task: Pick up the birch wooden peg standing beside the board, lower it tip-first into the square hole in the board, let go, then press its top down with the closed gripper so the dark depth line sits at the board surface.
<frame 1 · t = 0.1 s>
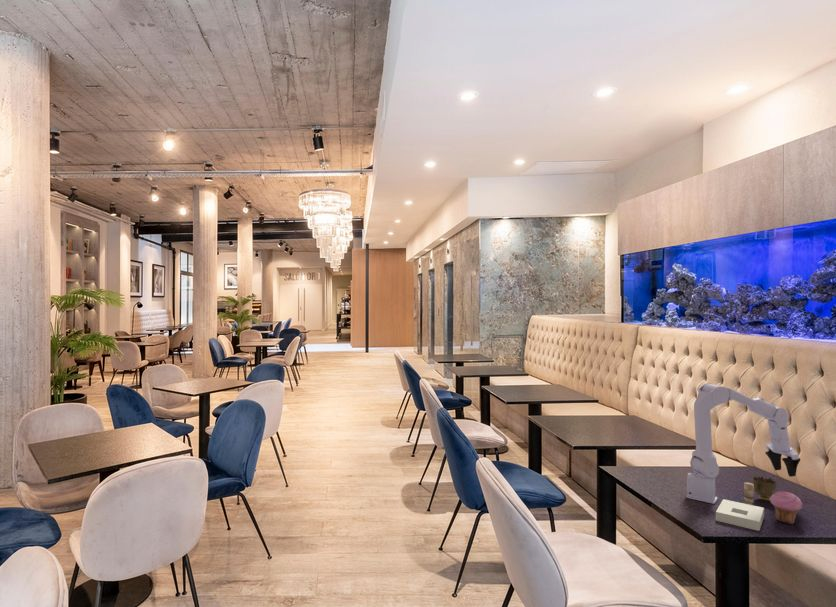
hand: (784, 472, 195), 11 cm above the table, tool pointing down, fingers open, 7 cm apart
board: (740, 518, 176), on the table
cupcake: (786, 521, 174), on the table
peg: (748, 505, 189), on the table
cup: (764, 500, 195), on the table
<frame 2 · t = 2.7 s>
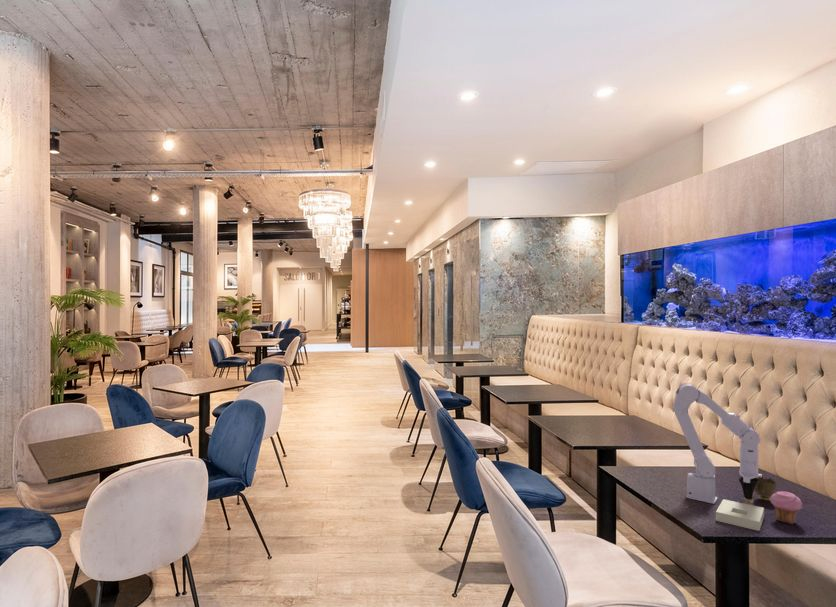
hand: (748, 497, 189), 3 cm above the table, tool pointing down, fingers closed on peg, 3 cm apart
peg: (748, 505, 189), on the table, touching gripper
everything else where it was.
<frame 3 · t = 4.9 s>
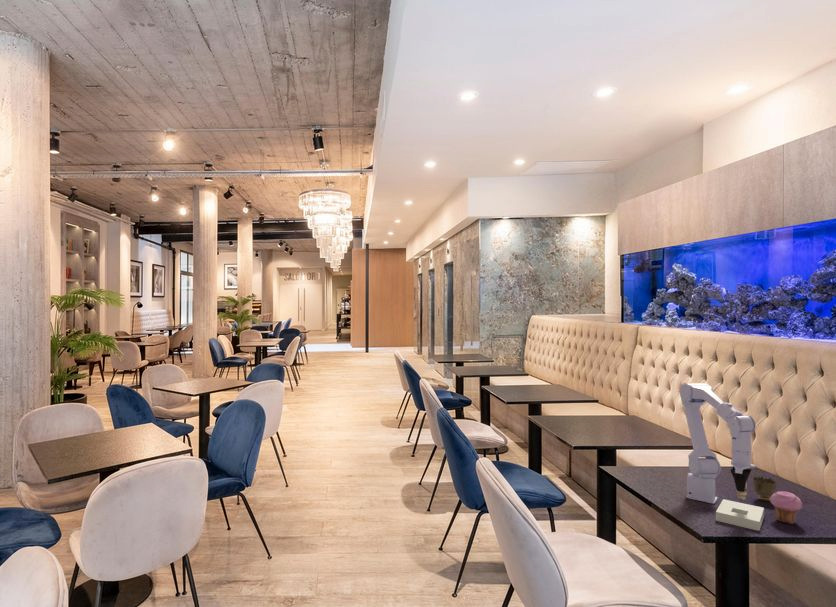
hand: (741, 489, 176), 10 cm above the table, tool pointing down, fingers closed on peg, 3 cm apart
peg: (741, 498, 176), point 7 cm above the table, touching gripper
everything else where it was.
when the fingers open (4 cm above the table, at t = 7.3 s): peg drops 1 cm, resting in board.
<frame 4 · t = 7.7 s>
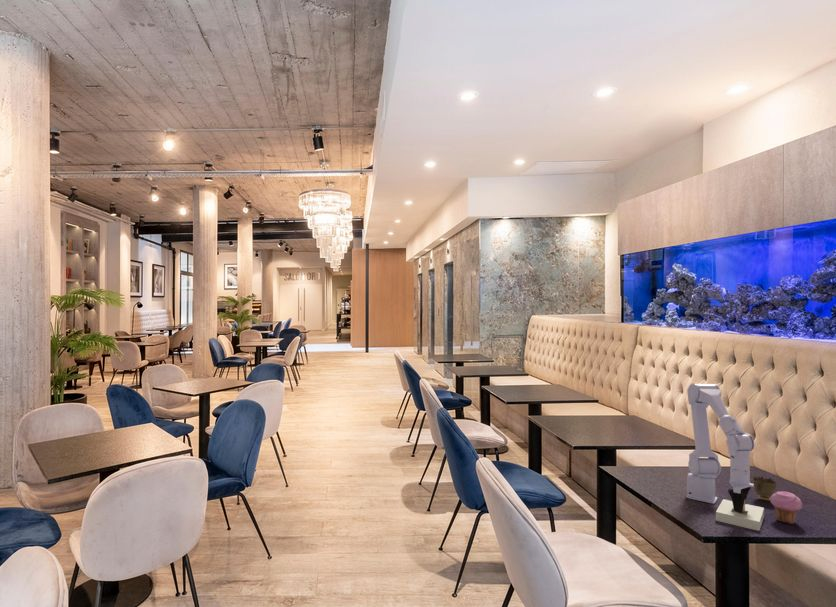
hand: (739, 508, 174), 4 cm above the table, tool pointing down, fingers open, 7 cm apart
peg: (740, 520, 174), resting in board
everything else where it was.
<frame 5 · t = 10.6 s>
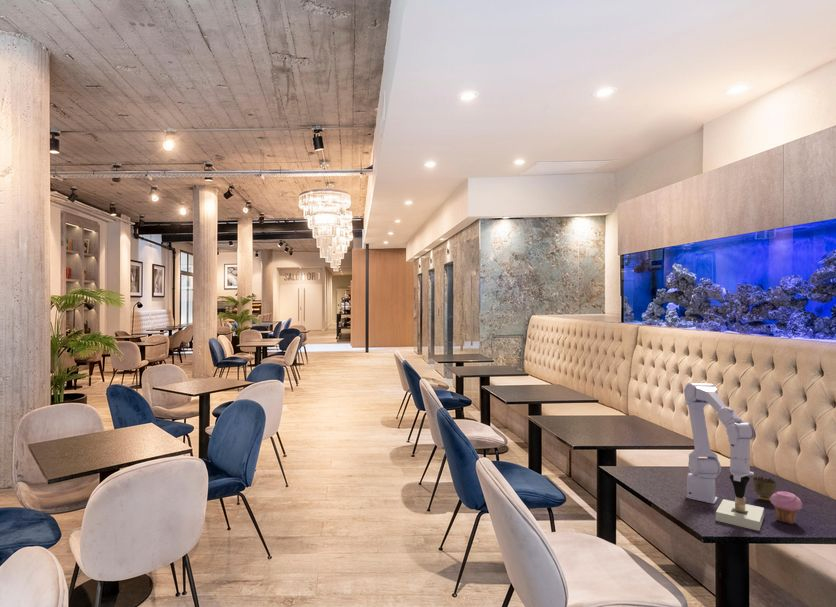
hand: (739, 497, 175), 8 cm above the table, tool pointing down, fingers closed, pressing on peg
peg: (740, 520, 174), resting in board, touching gripper
everything else where it was.
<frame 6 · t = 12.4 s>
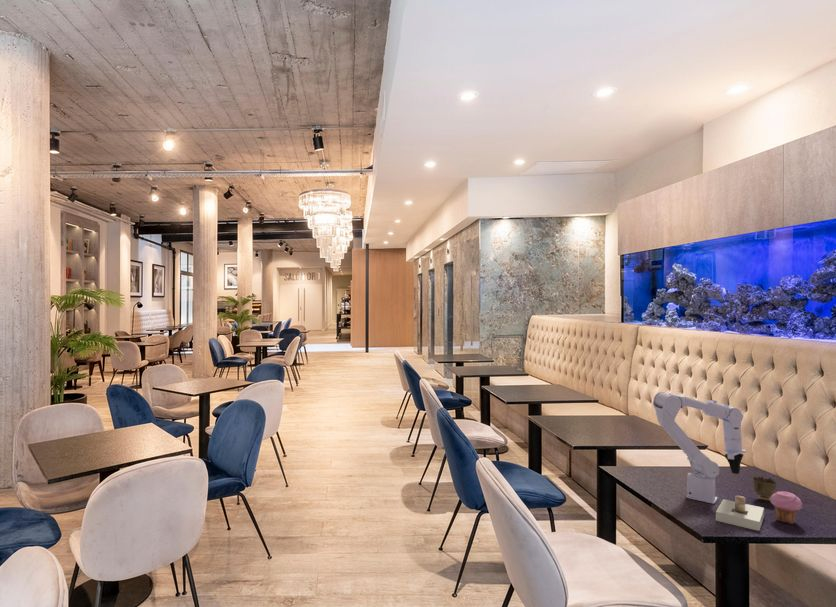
hand: (735, 473, 195), 10 cm above the table, tool pointing down, fingers closed
peg: (740, 520, 174), resting in board
everything else where it was.
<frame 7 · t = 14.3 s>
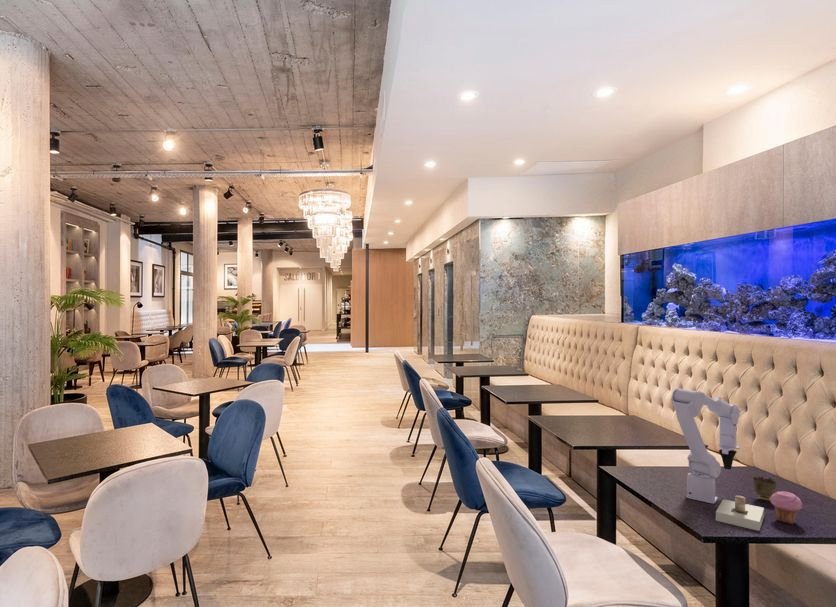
hand: (727, 468, 201), 10 cm above the table, tool pointing down, fingers closed
nothing on the table moved.
at the end: peg 0.1 cm from the target spot on the board, point 0.0 cm above the board's base; peg tilted 0°; the gripper is holding nothing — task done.
